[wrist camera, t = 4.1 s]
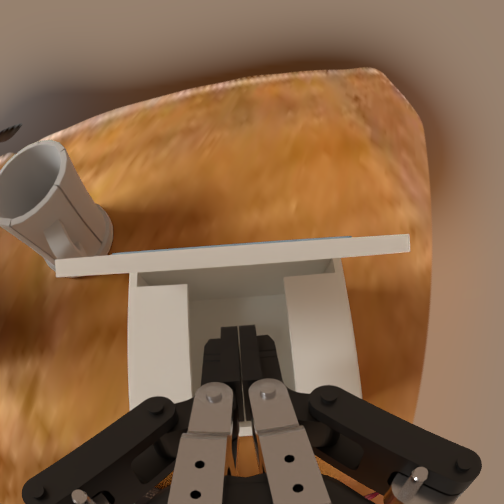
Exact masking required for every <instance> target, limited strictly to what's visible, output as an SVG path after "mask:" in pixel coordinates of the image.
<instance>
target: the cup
mask: <svg viewBox="0 0 504 504" xmlns="http://www.w3.org/2000/svg"><path fill="white" fill-rule="evenodd" d="M0 226H1V227H2V228H4V229H5V230H6V231H8V232H9V233H11V234H12V235H14V236H15V237H17V238H18V239H19V240H21V241H22V242H24V243H25V244H26V245H28V246H29V247H31V248H32V249H33V250H34V251H36V252H37V253H38V254H40V255H41V256H42V257H44V259H45V261H46V262H47V264H48V265H49V267H50V268H51V269H52V270H54V271H55V272H56V269H55V260H56V259H69V258H81V257H93V256H106V255H107V254H108V252H109V250H110V247H111V244H112V240H113V225H112V223H111V220H110V217H109V216H108V214H107V213H106V212H105V211H104V210H103V208H102V207H101V206H100V205H98V204H95V203H94V201H93V200H92V198H91V196H90V195H89V193H88V192H87V190H86V188H85V187H84V185H83V183H82V181H81V179H80V177H79V176H78V174H77V172H76V170H75V168H74V166H73V164H72V162H71V160H70V157H69V155H68V153H67V151H66V149H65V148H64V147H63V146H62V145H61V144H60V143H59V142H56V141H52V140H45V141H40V142H39V141H38V142H36V143H33V144H31V145H28V146H27V147H25V148H24V149H22V150H21V151H19V152H18V153H17V154H15V155H14V156H13V157H12V158H11V159H10V160H9V161H8V162H7V163H6V164H5V165H4V167H3V168H2V169H1V171H0ZM75 277H80V276H70V277H69V278H75Z"/></svg>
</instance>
